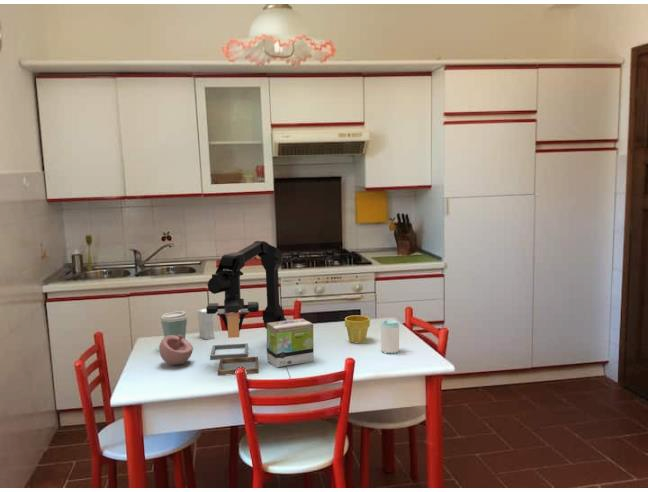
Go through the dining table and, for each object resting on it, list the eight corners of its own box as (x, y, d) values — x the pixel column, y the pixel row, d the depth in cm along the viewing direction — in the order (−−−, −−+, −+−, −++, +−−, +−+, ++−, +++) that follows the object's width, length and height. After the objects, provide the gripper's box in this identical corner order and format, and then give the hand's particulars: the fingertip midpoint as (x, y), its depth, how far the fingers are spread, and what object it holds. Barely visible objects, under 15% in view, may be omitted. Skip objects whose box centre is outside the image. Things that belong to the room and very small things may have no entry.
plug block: (239, 334, 216) (238, 313, 215) (239, 337, 212) (238, 315, 211) (228, 334, 215) (228, 313, 214) (228, 337, 211) (227, 316, 211)
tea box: (277, 368, 208) (275, 328, 206) (266, 361, 217) (265, 322, 215) (314, 361, 215) (313, 322, 213) (303, 354, 224) (302, 317, 222)
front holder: (258, 360, 217) (257, 356, 217) (258, 372, 204) (258, 368, 203) (220, 362, 216) (220, 358, 216) (217, 375, 202) (217, 371, 202)
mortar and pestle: (182, 370, 208) (181, 339, 206) (153, 368, 211) (151, 337, 210) (199, 360, 219) (197, 330, 218) (171, 358, 223) (169, 329, 221)
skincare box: (214, 338, 249) (213, 310, 247) (205, 340, 246) (204, 312, 244) (207, 335, 253) (206, 308, 252) (198, 337, 250) (197, 309, 249)
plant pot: (374, 339, 241) (374, 316, 240) (362, 346, 233) (362, 322, 232) (352, 336, 247) (352, 314, 246) (340, 342, 238) (340, 319, 237)
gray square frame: (248, 346, 235) (247, 343, 235) (247, 357, 221) (247, 353, 221) (213, 348, 233) (212, 345, 233) (210, 359, 219) (210, 355, 219)
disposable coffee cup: (162, 354, 227) (160, 317, 225) (161, 347, 237) (159, 311, 235) (190, 351, 230) (188, 314, 228) (187, 344, 240) (185, 308, 238)
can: (386, 355, 221) (386, 324, 219) (377, 350, 227) (377, 320, 226) (402, 352, 223) (402, 322, 222) (393, 347, 230) (393, 318, 228)
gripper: (204, 294, 203) (205, 337, 205) (257, 292, 205) (258, 335, 206) (207, 288, 214) (208, 329, 216) (258, 286, 216) (259, 327, 217)
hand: (233, 330), depth 213 cm, fingers closed on plug block, 4 cm apart
